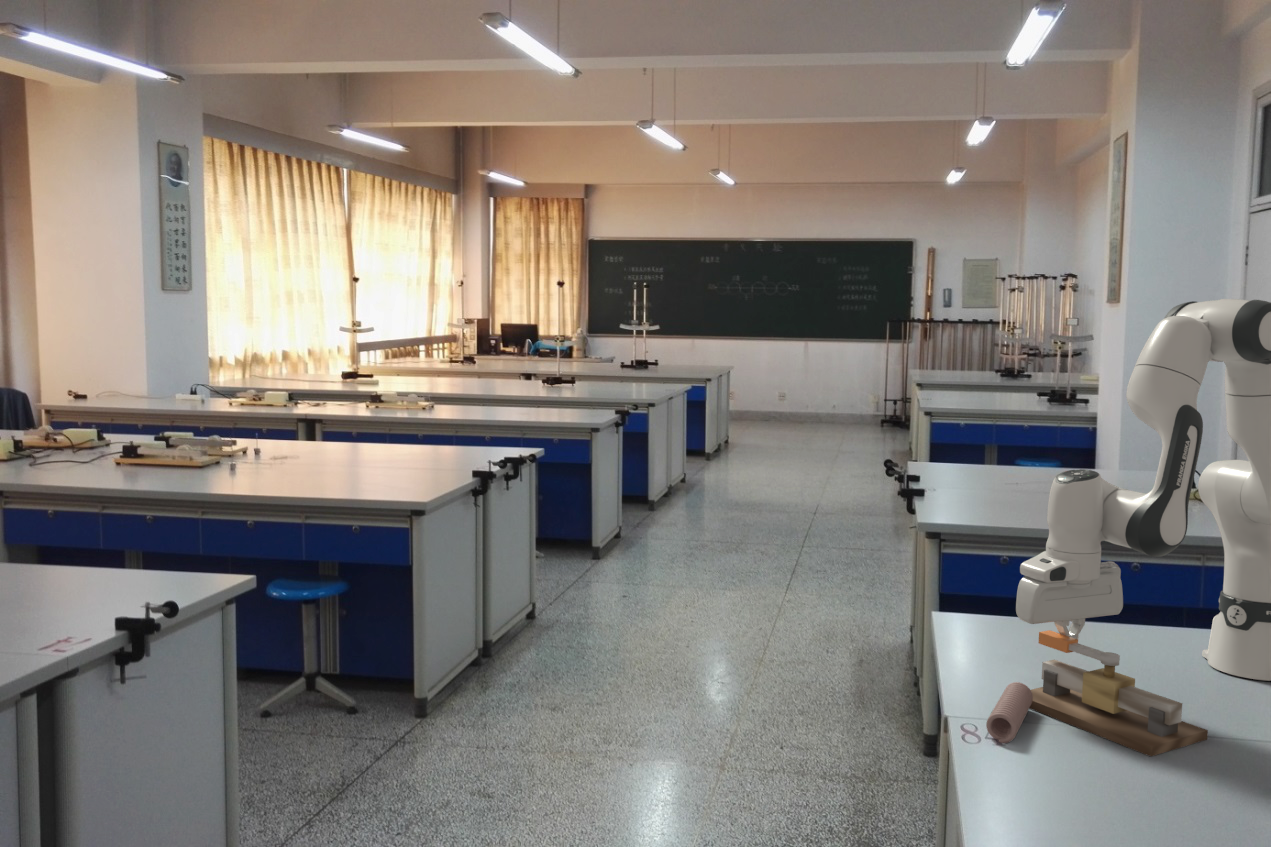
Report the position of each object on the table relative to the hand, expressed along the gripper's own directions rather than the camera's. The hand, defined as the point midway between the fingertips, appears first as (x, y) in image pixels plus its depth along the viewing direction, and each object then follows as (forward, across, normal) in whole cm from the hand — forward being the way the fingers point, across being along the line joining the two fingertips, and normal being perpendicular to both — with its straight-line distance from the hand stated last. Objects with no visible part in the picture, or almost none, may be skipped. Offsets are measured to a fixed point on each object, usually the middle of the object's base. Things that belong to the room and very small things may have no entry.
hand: (1068, 643), depth 191 cm
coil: (+10, +18, +7) cm, 21 cm away
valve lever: (0, +2, +5) cm, 5 cm away
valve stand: (+10, +1, +11) cm, 15 cm away
